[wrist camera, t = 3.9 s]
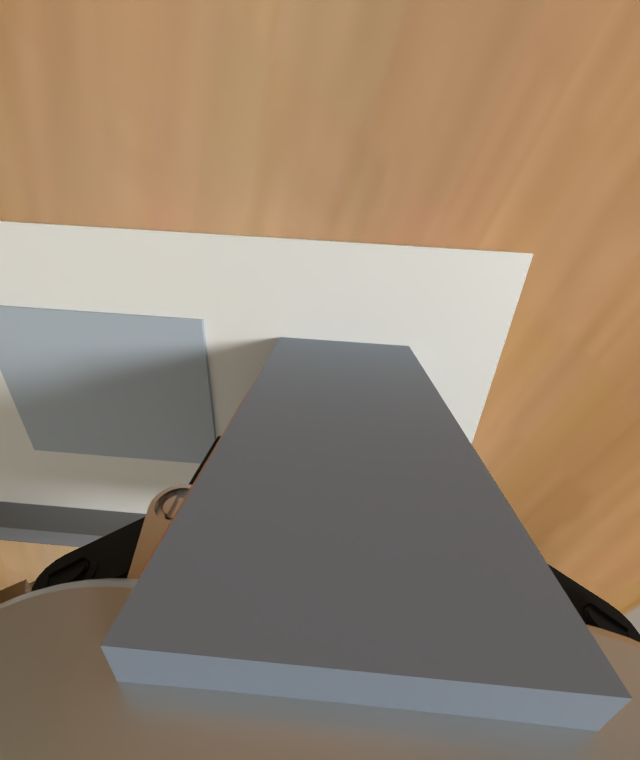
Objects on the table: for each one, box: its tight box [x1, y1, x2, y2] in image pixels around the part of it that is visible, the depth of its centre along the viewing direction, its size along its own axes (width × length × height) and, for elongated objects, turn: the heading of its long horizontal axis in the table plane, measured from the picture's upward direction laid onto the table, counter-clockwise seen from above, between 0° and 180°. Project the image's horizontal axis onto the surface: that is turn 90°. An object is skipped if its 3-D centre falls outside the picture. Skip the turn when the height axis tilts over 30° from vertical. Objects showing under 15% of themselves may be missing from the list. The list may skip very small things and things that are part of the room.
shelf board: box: [0, 221, 533, 547], centre depth 14 cm, size 24×15×3 cm, turn 87°
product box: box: [100, 337, 633, 731], centre depth 9 cm, size 5×7×10 cm
